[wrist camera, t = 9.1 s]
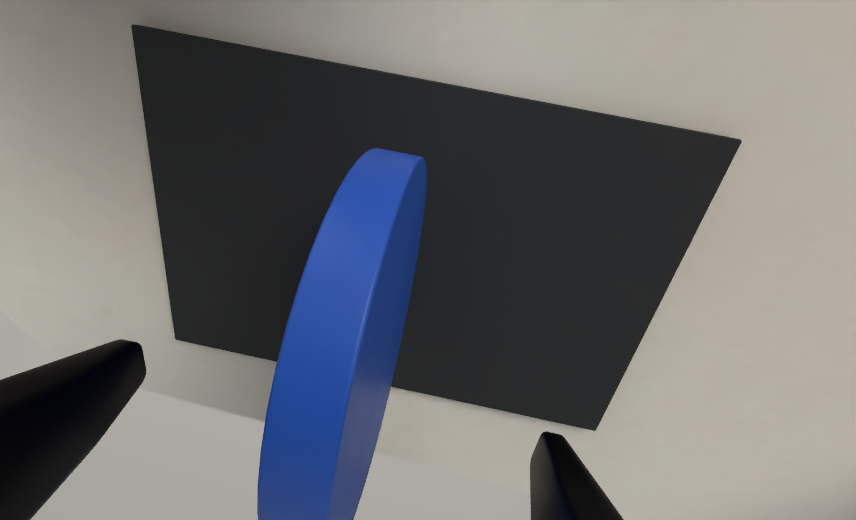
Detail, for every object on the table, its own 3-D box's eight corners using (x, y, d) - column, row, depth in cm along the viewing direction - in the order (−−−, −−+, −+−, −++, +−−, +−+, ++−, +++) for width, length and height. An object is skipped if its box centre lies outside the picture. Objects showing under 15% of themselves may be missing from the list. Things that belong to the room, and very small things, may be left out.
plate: (439, 130, 13) (351, 257, 4) (399, 360, 18) (315, 662, 9) (404, 124, 13) (241, 234, 4) (373, 355, 18) (262, 649, 9)
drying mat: (593, 424, 18) (595, 431, 18) (180, 334, 19) (174, 339, 18) (735, 138, 13) (743, 140, 12) (140, 25, 13) (130, 23, 13)
